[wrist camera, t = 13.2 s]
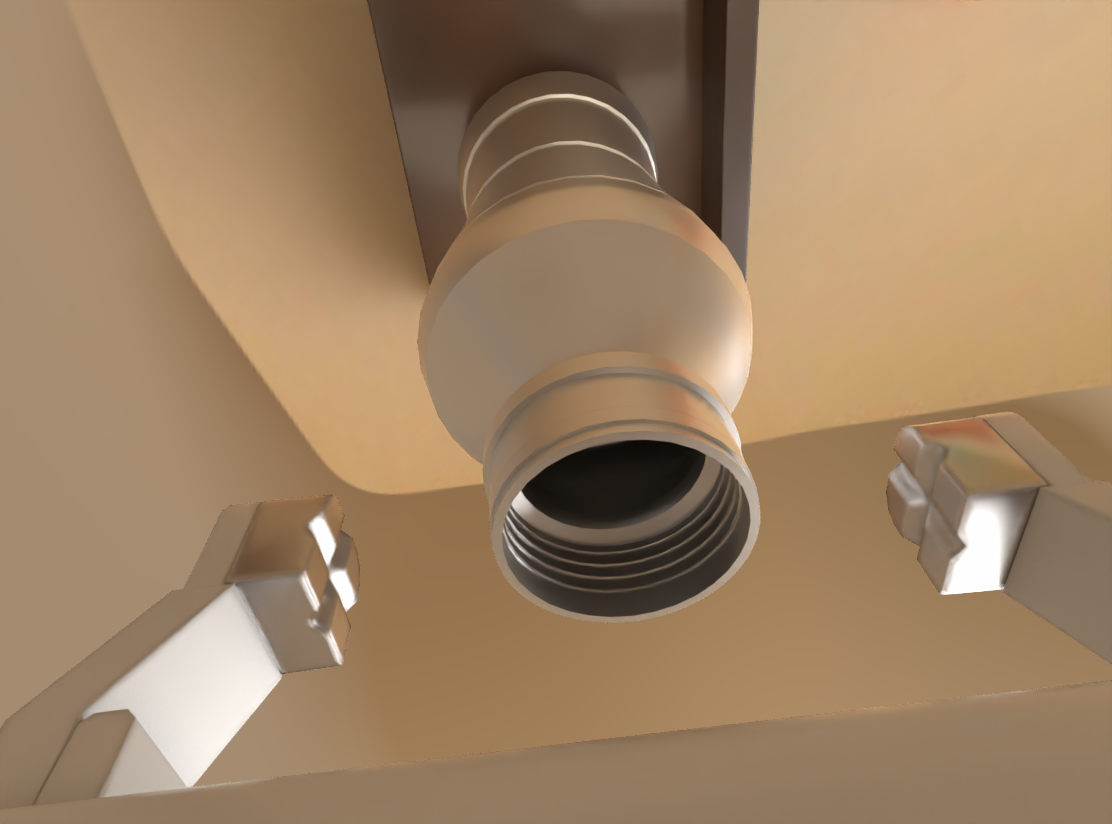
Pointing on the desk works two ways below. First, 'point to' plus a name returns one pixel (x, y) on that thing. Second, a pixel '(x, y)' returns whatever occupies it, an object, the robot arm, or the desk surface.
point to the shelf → (588, 48)
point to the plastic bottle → (592, 358)
